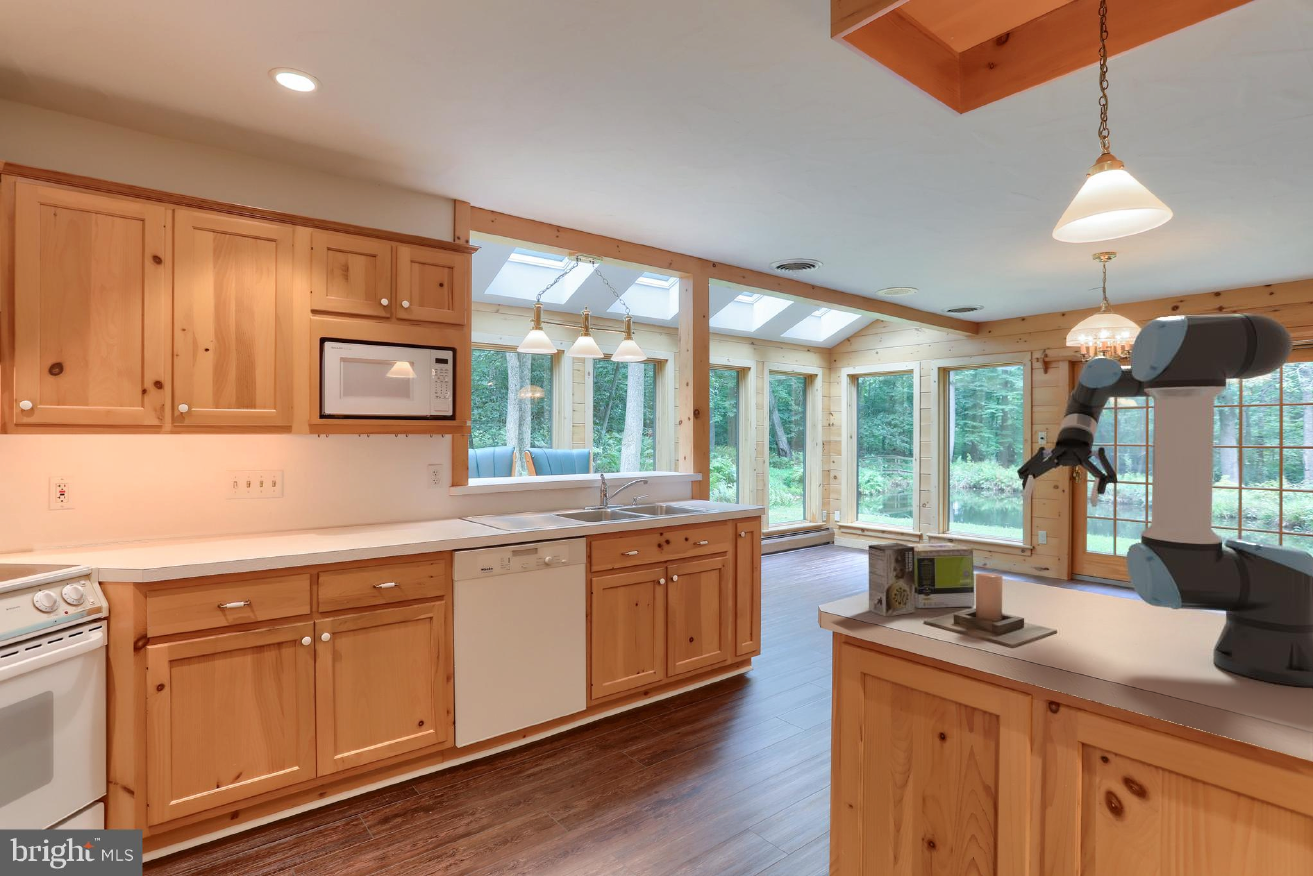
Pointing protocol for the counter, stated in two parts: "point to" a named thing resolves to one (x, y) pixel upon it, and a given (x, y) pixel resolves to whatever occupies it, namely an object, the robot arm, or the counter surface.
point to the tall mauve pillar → (989, 597)
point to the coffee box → (891, 579)
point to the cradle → (991, 628)
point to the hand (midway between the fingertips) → (1058, 500)
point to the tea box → (943, 575)
